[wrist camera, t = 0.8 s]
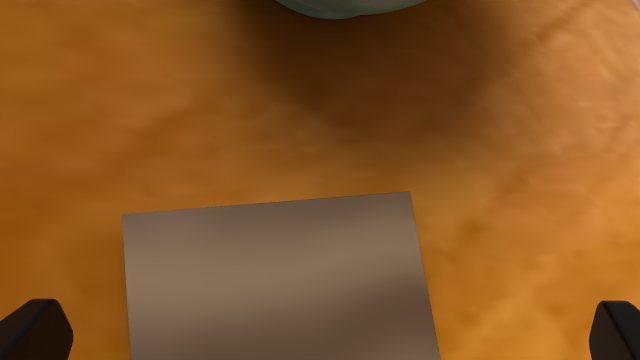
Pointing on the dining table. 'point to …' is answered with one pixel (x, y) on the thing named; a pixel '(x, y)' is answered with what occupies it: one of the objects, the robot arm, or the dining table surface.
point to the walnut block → (279, 282)
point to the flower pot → (346, 7)
